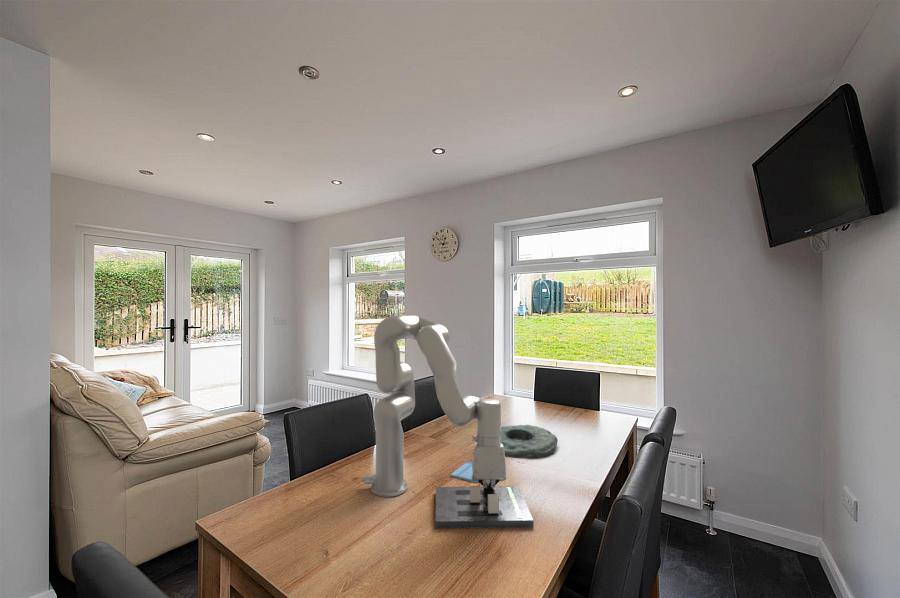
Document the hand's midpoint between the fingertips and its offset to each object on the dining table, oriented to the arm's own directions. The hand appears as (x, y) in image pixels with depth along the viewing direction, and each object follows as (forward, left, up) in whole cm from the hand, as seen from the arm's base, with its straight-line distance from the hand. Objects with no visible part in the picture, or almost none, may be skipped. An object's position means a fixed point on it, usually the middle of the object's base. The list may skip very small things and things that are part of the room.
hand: (488, 498), depth 122 cm
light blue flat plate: (-2, +26, -4) cm, 26 cm away
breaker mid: (-4, 0, 0) cm, 4 cm away
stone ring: (+22, +57, -4) cm, 61 cm away
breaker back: (+1, +6, -1) cm, 7 cm away
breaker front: (+1, -6, 0) cm, 7 cm away
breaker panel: (-2, 0, -3) cm, 4 cm away
